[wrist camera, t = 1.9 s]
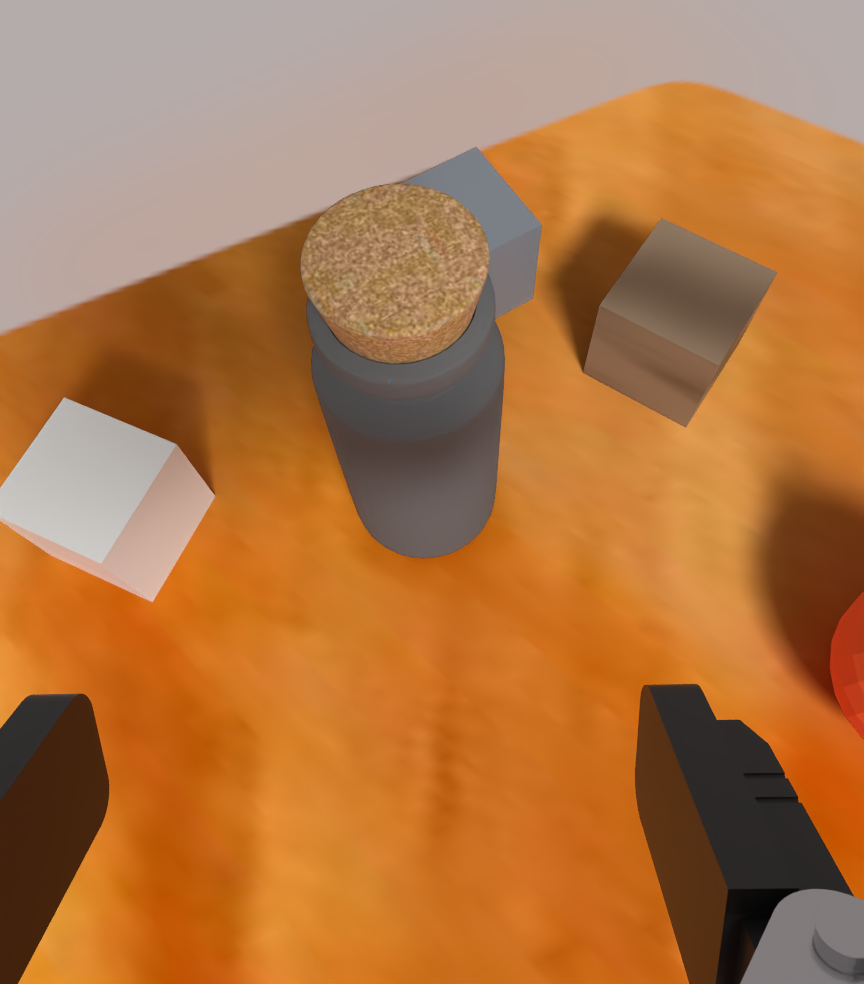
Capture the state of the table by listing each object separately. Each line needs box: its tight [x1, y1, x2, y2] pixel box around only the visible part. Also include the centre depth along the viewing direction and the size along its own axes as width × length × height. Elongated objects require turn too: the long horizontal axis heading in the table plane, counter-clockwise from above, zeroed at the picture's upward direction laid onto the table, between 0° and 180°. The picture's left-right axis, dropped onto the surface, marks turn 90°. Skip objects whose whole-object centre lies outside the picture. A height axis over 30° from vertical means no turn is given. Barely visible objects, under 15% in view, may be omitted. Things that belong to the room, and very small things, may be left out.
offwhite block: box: [0, 398, 215, 602], centre depth 32 cm, size 5×5×5 cm
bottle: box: [300, 184, 505, 558], centre depth 27 cm, size 6×6×15 cm
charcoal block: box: [400, 147, 542, 319], centre depth 36 cm, size 5×5×5 cm
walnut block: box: [583, 218, 777, 427], centre depth 34 cm, size 5×5×5 cm
